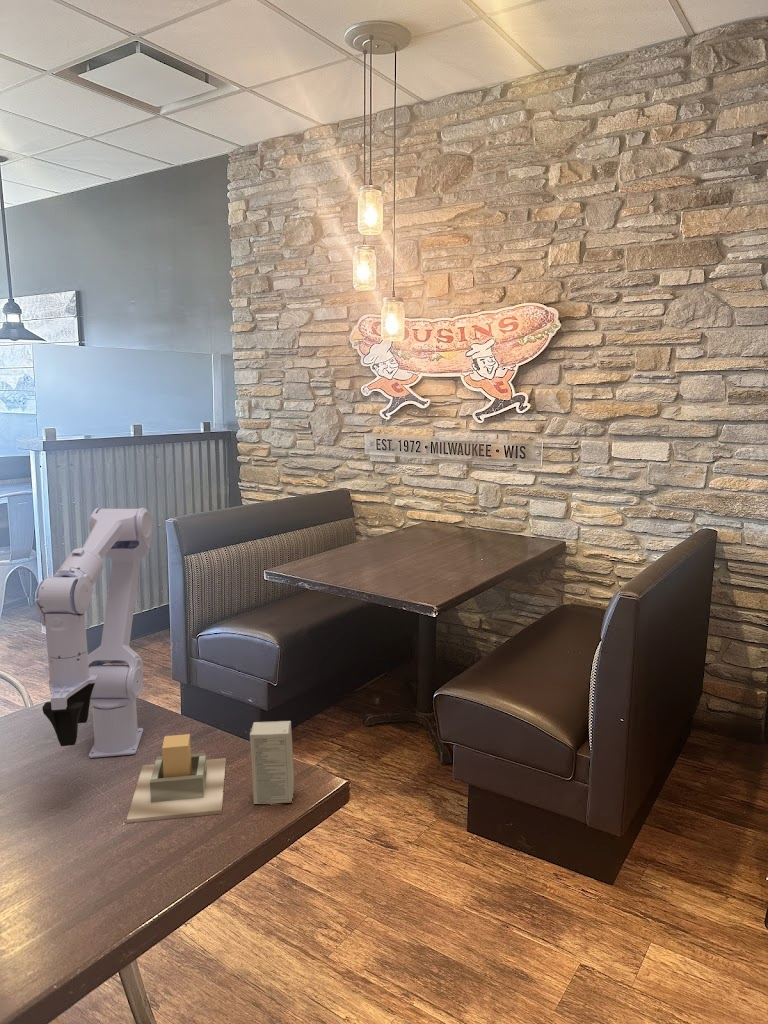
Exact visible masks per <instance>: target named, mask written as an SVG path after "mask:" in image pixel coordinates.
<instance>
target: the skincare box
mask: <svg viewBox="0 0 768 1024" xmlns="http://www.w3.org/2000/svg"><path fill="white" fill-rule="evenodd" d="M251 726H252V727H251V728H250V729H251V730H250V732H249V743H250V744H249V746H250V759H251V760H250V761H251V774H252V775H251V776H252V779H251V780H252V793H253V795H252V796H253V804H261V803H263V804H265V803H281V802H289V801H292V798H293V799H294V796H293V793H294V794H295V777H294V775H295V774H294V773H295V772H294V758H293V757H294V756H293V754H294V753H293V735H292V734H293V732H292V721H291V720H277V721H273V720H272V721H255V722H253V723H252V725H251ZM292 802H293V801H292Z"/></svg>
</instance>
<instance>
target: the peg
mask: <svg viewBox="0 0 768 1024" xmlns="http://www.w3.org/2000/svg"><path fill="white" fill-rule="evenodd" d="M191 745H192V744H191V733H185V734H177V735H176V734H174V735H165V736H164V738H163V743H162V746H161V747H162V748H161V751H162V752H161V754H162V756H161V757H163V772H164V778H170V777H181V776H192V763H191V754H192V749H191V747H192V746H191Z"/></svg>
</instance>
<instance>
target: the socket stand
mask: <svg viewBox="0 0 768 1024" xmlns="http://www.w3.org/2000/svg"><path fill="white" fill-rule="evenodd" d="M155 758H156V759H155V762H154V764H143V765H141V766H142V767H141V770H140V774H139V776H138V780H137V783H136V787H135V791H134V794H133V797H132V799H131V803H130V807H129V810H128V814H127V817H126V824H130V823H133V824H134V823H142V822H151V821H161V820H172V819H179V818H190V817H191V818H192V817H201V816H210V815H211V816H212V815H220V814H222V813H223V802H224V792H223V791H224V788H225V780H224V779H226V778H225V777H226V768H225V767H226V764H227V758H226V757H223V758H222V757H221V758H210V759H207V753H206V752H199V753H191V763H192V776H181V777H170V778H164V772H163V756H156V757H155Z"/></svg>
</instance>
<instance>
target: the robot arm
mask: <svg viewBox="0 0 768 1024" xmlns="http://www.w3.org/2000/svg"><path fill="white" fill-rule="evenodd" d="M89 517H90V518H89V522H88V524H89V534H88V536H87V538H86V540H85V542H84V543H83V546H82V547H79V548H74V549H73V550H72V551H71V552H70V553H69V555H68V556H67V557H66V559H65V560H64V562H63V563H62V564H61V565H60V567H59V568H58V570H57V571H56V572H55V574H54V575H53V576H51V577H50V576H49V577H46V578H44V580H41V581H40V582H39V584H38V585H37V588H36V591H35V599H34V605H35V608H36V610H37V612H38V614H39V616H40V617H39V618H40V623H41V624H40V625H41V626H43V627H45V636H46V637H45V638H46V639H45V641H46V650H47V660H48V661H47V662H48V672H49V673H48V675H49V680H48V687H49V691H50V694H51V697H50V701H47V702H45V703H44V705H43V706H42V713H43V715H44V716H45V717H46V718H47V719H48V721H49V722H50V723H51V725H52V727H53V730H54V733H55V735H56V738H57V741H58V742H59V745H60V746H61V747H67V746H68V747H69V746H75V745H76V743H77V741H78V740H77V739H78V727H79V724H86V723H87V722H88V718H89V712H90V707H91V712H92V725H93V737H94V739H93V740H94V743H93V746H92V747H91V749H90V751H89V753H88V758H90V759H91V758H103V757H104V758H105V757H106V758H107V757H115V756H126V755H127V756H128V755H135V754H136V753H137V750H138V748H139V744H140V741H141V740H142V739H141V738H142V735H143V732H144V728H142V727H138V713H137V712H138V711H137V702H136V701H137V700H136V699H138V697H140V695H141V693H142V691H143V687H144V673H143V672H144V671H143V670H144V669H143V668H144V661H143V658H142V657H141V656H140V655H139V653H137V652H136V651H135V650H134V649H132V648H131V647H130V643H131V637H132V635H131V634H132V628H133V627H132V626H133V619H134V612H135V611H134V610H135V605H136V604H135V603H136V602H135V601H136V596H137V595H136V594H137V587H138V580H139V571H140V567H141V559H143V558H145V557H146V556H147V555H149V554H150V549H151V543H152V542H151V541H152V535H153V534H152V533H153V522H152V516H151V513H150V512H149V510H148V509H147V508H146V507H140V508H103V507H96V508H95V509H94V510H93V511H92V513H91V514H90V516H89ZM104 557H107V558H109V559H110V560H111V569H110V570H111V571H110V577H109V583H108V592H107V598H106V605H105V612H104V613H105V614H104V619H103V626H102V634H101V639H100V640H101V641H100V645H99V646H98V647H97V648H95V650H93V651H91V652H90V653H89V651H88V640H87V639H88V638H87V625H86V612H87V611H88V610H89V608H90V607H89V606H90V603H91V596H92V594H93V591H94V590H93V586H94V584H95V582H96V581H97V579H98V578H99V577H100V574H101V573H102V572H103V569H104V561H103V558H104Z"/></svg>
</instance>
